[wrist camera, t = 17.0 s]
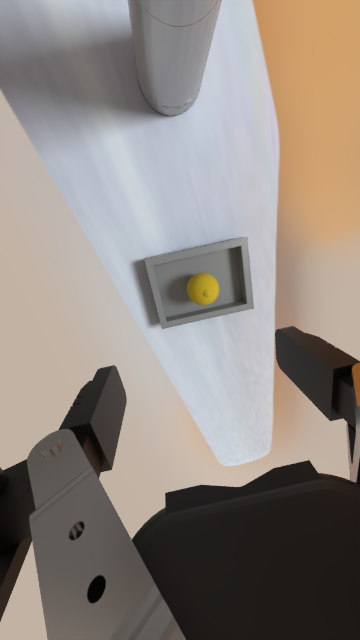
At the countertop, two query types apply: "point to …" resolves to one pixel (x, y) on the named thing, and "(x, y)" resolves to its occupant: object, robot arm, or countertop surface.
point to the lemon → (203, 288)
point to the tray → (178, 267)
